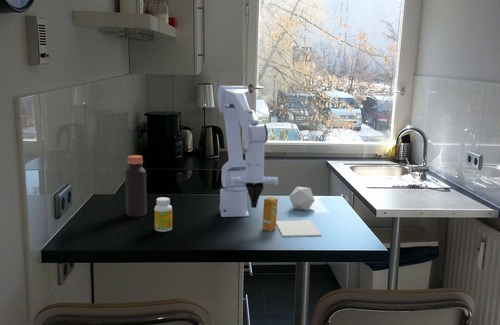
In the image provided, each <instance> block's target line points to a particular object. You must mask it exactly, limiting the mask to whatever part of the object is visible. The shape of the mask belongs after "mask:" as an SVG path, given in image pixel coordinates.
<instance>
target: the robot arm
mask: <svg viewBox="0 0 500 325" xmlns="http://www.w3.org/2000/svg"><path fill="white" fill-rule="evenodd" d="M216 96H217V98H216V99H217V106H218V107H217V108H218V111H219V112H220V113H222V114H223V118H224V124H225V126H224V127H225V136H226V146H227V155H228V160H227V162H225V163H224V164H223V165H222V167H221V177H220V178H221V180H220V181H221V185H222V186H223V188H221V189H220V190H219V192H220V195H219V196H220V197H219V201H220V202H219V206H218V207H219V211H220V212H219V213H220V217H221V218H222V217H223V218H226V217H227V218H228V217H229V218H230V217H234V218H235V217H239V218H240V217H249V216H250V214H249V211H248V195H249V199H250V205H251V206H250V207H251V208H252V209H254V208H257V205H258V202H259V198H260V196H261V194H262V192H263V190H264V187H265V186H264V185H276V186H277V185H279V178H278V177H277V176H265V172H264V171H265V147H266V146H265V145H266V143H267V142H268V139H269V131H268V127H267V124H266V123H263V122H260V119H259V118H258V115H257V114H256V112H255V110H253V109H251V108H250V106H249V100H250V90H249V87H248V85H219V87H218V89H217V95H216ZM240 126H241V128H240ZM241 129H242V139H243V148H244V149H245V160H244V159H243V151H242V150H243V149H242V142H241V140H242V139H241Z"/></svg>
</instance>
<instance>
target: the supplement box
mask: <svg viewBox="0 0 500 325" xmlns="http://www.w3.org/2000/svg"><path fill="white" fill-rule="evenodd" d="M277 212H278V198H275V197H272V196H269V197H266V198H264V199H263V212H262V230H263V231H268V232H272V231H274V230H276V228H277V224H276V221H277Z"/></svg>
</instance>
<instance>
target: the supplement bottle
mask: <svg viewBox="0 0 500 325" xmlns="http://www.w3.org/2000/svg"><path fill="white" fill-rule="evenodd" d="M170 199H171V198H169V197H164V196H162V197H161V196H160V197H157V198H156V205H155V206H154V208H153V210H154V230H155V231H157V232H162V233H163V232H164V233H165V232H169V231H171V230H172V229H173V206H172V205H171V204H170V203H171V200H170Z"/></svg>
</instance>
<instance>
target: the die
mask: <svg viewBox="0 0 500 325" xmlns="http://www.w3.org/2000/svg"><path fill="white" fill-rule="evenodd" d="M288 196H289V200H290V202H291V205H292V208H293V209H294V210H298V209H299V210H300V211H306V212H308V210H309V209H310V207H311V206H312V205H313V204H314V203H315V198H314V194H313V192H312V188H311V187H304V186H296V187H295V188H294V190H293V191H292V192H291V193H290V194H289V195H288Z"/></svg>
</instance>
